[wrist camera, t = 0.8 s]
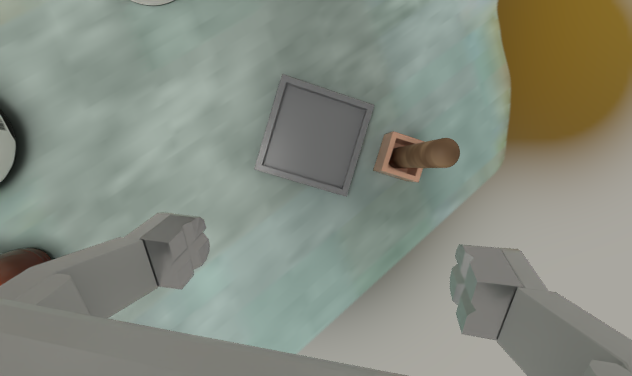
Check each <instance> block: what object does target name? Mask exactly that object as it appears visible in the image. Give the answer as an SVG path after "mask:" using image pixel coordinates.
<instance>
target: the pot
mask: <svg viewBox="0 0 632 376" xmlns="http://www.w3.org/2000/svg"><path fill="white" fill-rule="evenodd" d="M422 142H424V141H421V140H418V139H415V138H412V137H409V136H406V135H403V134H400V133H397V132H394V131H393V132H390V133H388V134H385V135H384V137H383V140H382V143H381V147H380V150H379V153H378V156H377V160H376V163H375V166H374V170H373V171H376V172H379V173H382V174H386V175H389V176H392V177H395V178H399V179H402V180H405V181H410V182H419V179H420V176H421V173H422V170H423V168H393V167H391V166H390V165H389V160H390V157H391V154H392V151H393V148H398V147H403V146H407V145H412V144H417V143H422Z"/></svg>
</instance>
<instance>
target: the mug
mask: <svg viewBox="0 0 632 376" xmlns="http://www.w3.org/2000/svg"><path fill="white" fill-rule="evenodd" d="M50 260H51V258H50V257H49V256H48V255H47V254H46V253H45V252H43V251H41V250H39V249H35V248H26V249H16V250H11V251H8V252H6V253H3V254H0V286H1V285H2V284H4V283H6V282H7V281H9V280H10V279H12V278H14V277H15V276H17V275H18V274H20V273H22V272H23V271H25V270H26V269H28V268H30V267H32V266H35V265H38V264H41V263H44V262H47V261H50Z"/></svg>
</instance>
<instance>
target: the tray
mask: <svg viewBox="0 0 632 376" xmlns="http://www.w3.org/2000/svg"><path fill="white" fill-rule="evenodd" d="M373 108H374V105H373V104H370V103H367V102H364V101H361V100H358V99H355V98H352V97H349V96H346V95H343V94H340V93H337V92H334V91H331V90H328V89H325V88H322V87H319V86H316V85H313V84H310V83H307V82H304V81H301V80H299V79H296V78H293V77H290V76H287V75H284V74H282V76H281V79H280V83H279V86H278V89H277V93H276V96H275V100H274V103H273V107H272V110H271V113H270V117H269V120H268V124H267V127H266V130H265V134H264V137H263V141H262V144H261V148H260V151H259V154H258V158H257V161H256V165H255V168H254V169H255V170H258V171H262V172H265V173H269V174H272V175H275V176H279V177H282V178H285V179H289V180H292V181H295V182H299V183H302V184H306V185H309V186H312V187H316V188H319V189H322V190H326V191H329V192H333V193H336V194H339V195H343V196H346V197H347V194H348V191H349V187H350V184H351V181H352V177H353V174H354V171H355V168H356V164H357V161H358V158H359V154H360V151H361V148H362V145H363V141H364V138H365V135H366V131H367V128H368V125H369V122H370V118H371V115H372V112H373Z"/></svg>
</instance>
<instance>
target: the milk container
mask: <svg viewBox="0 0 632 376" xmlns="http://www.w3.org/2000/svg"><path fill="white" fill-rule="evenodd" d="M15 155H16V139H15V135H14V131H13V128H12V126H11V124H10V122H9V121H8V119H7V118H6V116H5V115H4V113H3V112H2V111H1V110H0V182H1V181H3V180H4V179H5V177H6V176H7V175H8V173H9V171H10V170H11V168H12V166H13V164H14V161H15Z"/></svg>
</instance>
